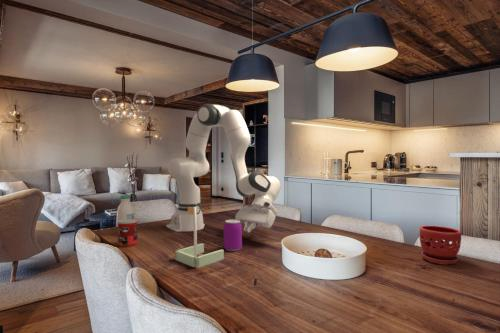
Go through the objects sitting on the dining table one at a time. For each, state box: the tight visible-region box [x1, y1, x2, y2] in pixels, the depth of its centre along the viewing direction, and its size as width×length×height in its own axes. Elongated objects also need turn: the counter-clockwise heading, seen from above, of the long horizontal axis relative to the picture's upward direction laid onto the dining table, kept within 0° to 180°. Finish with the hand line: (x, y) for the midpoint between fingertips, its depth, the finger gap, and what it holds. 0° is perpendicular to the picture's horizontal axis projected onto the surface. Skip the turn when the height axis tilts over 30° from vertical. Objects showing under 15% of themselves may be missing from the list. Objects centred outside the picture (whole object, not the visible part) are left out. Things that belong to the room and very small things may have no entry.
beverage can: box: [223, 218, 243, 252], centre depth 130 cm, size 8×8×12 cm
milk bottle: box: [117, 194, 135, 222], centre depth 156 cm, size 8×8×20 cm
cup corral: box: [174, 207, 225, 269], centre depth 117 cm, size 13×13×22 cm
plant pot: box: [419, 225, 462, 265], centre depth 113 cm, size 13×13×12 cm
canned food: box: [117, 218, 138, 248], centre depth 137 cm, size 8×8×11 cm
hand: (246, 231), depth 136 cm, fingers closed
